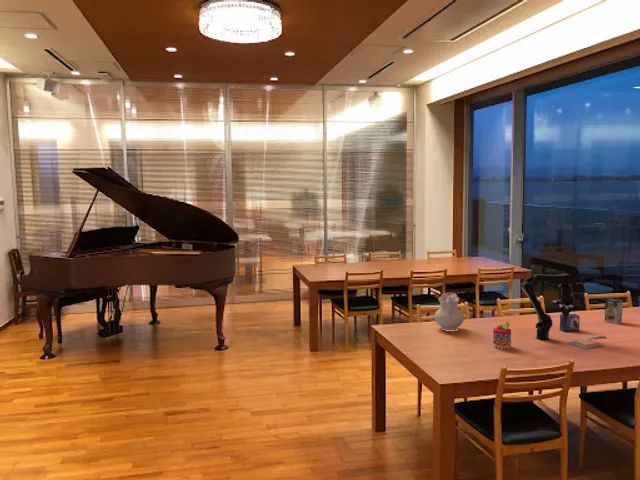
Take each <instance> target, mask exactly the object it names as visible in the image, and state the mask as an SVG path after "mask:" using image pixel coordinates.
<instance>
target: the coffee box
mask: <svg viewBox="0 0 640 480" xmlns="http://www.w3.org/2000/svg"><path fill="white" fill-rule="evenodd" d="M623 304H624V302H623V300H622V299H617V298H605V299H604V322H605V323H610V324H613V325H618V324H623Z"/></svg>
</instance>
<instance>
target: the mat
mask: <svg viewBox="0 0 640 480" xmlns="http://www.w3.org/2000/svg"><path fill="white" fill-rule="evenodd" d="M576 341H577V340H575V341H568V342H565V344H567V345H569V346H572V347H575V348H578V349H581V350H583V351H587V350H593V349H594V350H595V349H602V348H607V346H606V345H603V344H599V343H598V346H596V347H589V348H585V347H582V346H579V345H576V344H575V343H576Z"/></svg>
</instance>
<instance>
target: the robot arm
mask: <svg viewBox="0 0 640 480" xmlns="http://www.w3.org/2000/svg"><path fill="white" fill-rule="evenodd" d="M539 282H557V283H559V284H558V285H557V287H558V288H561V292H560V295H559V297H560V298H561V299H555V300H552V301H551V305H553V306H557V305H559V306H558V309H559V310H560V312H561V314H563V316H564V318H565V319H567V317H568V315H569V314H571V313H570V312H571V311H580V310H581V308H582V306H581V305H580V301H581V300H579V299H577V298H574V296H573V294H574V295H579V294H585V291H586V289H585V286H584V283H583V282H576V281H575V280H574V277H573V275H571V274H570V273H569V274H568V273H566V272H565V273H558V274H541V273H540V274H539V273H534V274H533V275H532V276H530V277H528V278H526V279H525V280H523V281H522V282H521V283H520V285H519V287H520V289H521V290H522V292H523V293H524V295H526V296H527V297H528V299H529V301H530V303H531V305H532V307H533V309H534V312H535V313H536V314H537V321H538V322H536V324H535V329H536V337H535V340H539V341H540V342H541V341H542V342H543V341H550V340H551V339H550V338H549V337H550V330H551V328H552V327H553V325H554V323H553V320H552V317H551V315H549V314H548V313H545V311H544V309H543V307H542V306H541V304H540V301H539V299H538V297H537V295H536V293H535V291H536V289H535V288H536V286H537V285H538V283H539Z"/></svg>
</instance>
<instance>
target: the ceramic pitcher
mask: <svg viewBox="0 0 640 480" xmlns="http://www.w3.org/2000/svg"><path fill="white" fill-rule="evenodd" d="M438 302H439V305H440V308H439V309H438V310H437V311H435V313H434V320H435V323H437V325H438V326H439V327H440V328H442V329H445V330H456V329H458V330H459V328H458V327H460V326H461V325H463V322H464V321H465V315H464V312H463V311H462V310H461V309H460V308H459V307H458V306H459V302H460V297H458V294H456V293H455V292H452V293H451V295H449V294H447V293H446V294H445V293H442V294H441V296H440V297H439V298H438Z"/></svg>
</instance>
